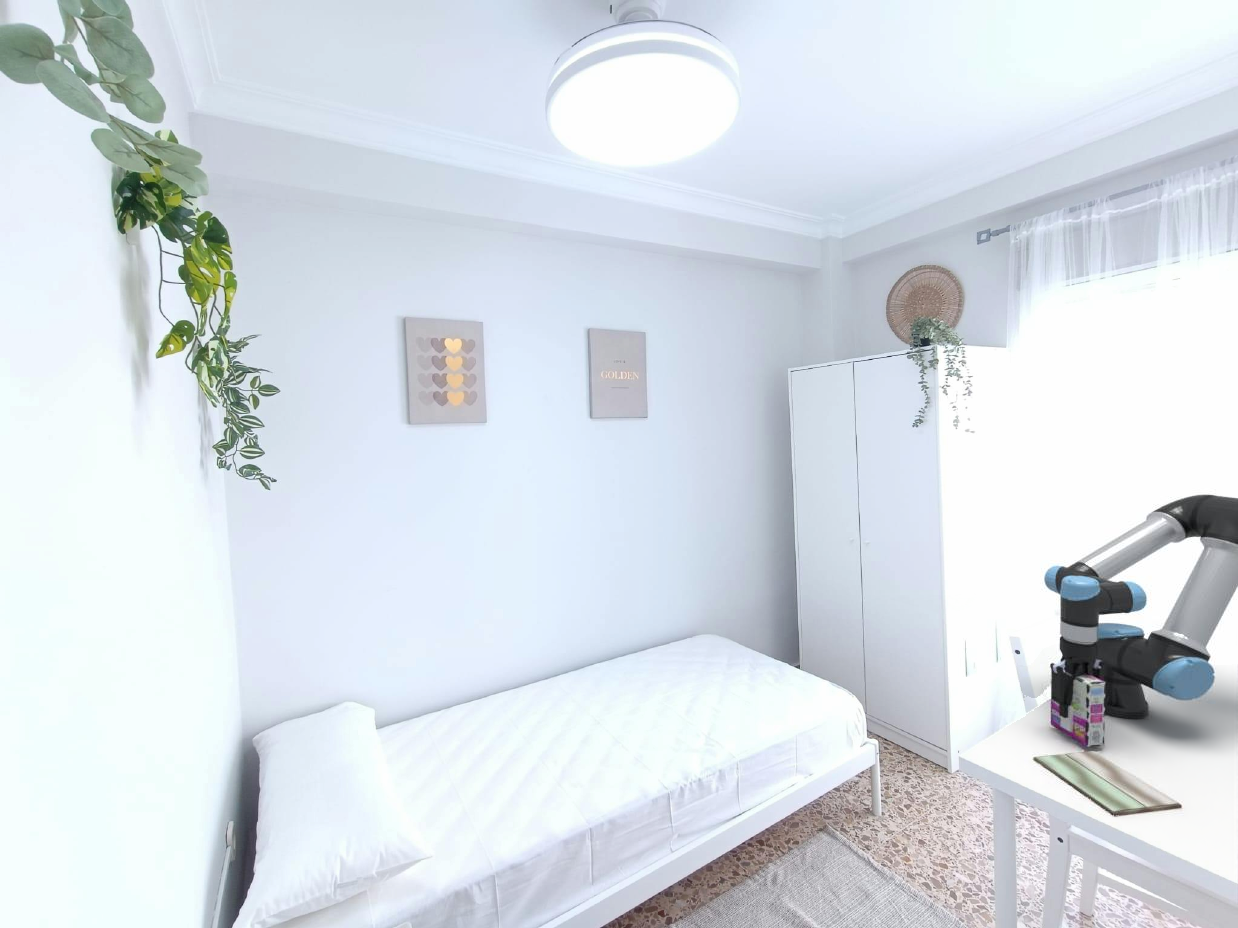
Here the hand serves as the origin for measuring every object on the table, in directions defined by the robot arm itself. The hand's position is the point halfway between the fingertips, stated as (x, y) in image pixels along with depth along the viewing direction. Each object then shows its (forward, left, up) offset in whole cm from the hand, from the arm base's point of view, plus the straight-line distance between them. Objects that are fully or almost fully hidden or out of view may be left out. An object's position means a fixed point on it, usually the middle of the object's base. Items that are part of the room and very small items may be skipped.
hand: (1076, 727), depth 147 cm
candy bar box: (0, 0, -2) cm, 2 cm away
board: (+9, +16, -3) cm, 19 cm away
